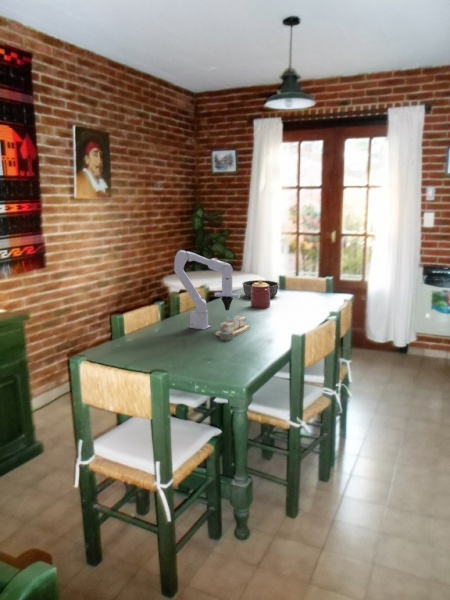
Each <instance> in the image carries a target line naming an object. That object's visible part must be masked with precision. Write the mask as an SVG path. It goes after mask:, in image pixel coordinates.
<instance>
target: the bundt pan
mask: <svg viewBox="0 0 450 600" xmlns="http://www.w3.org/2000/svg"><path fill="white" fill-rule="evenodd" d="M259 280H260V279H258V280H257V279H256V280H248V281H247V280H246V281H243V282H242V288H243V292H244V293H243V294H244V295H245V296H246V297H249V298H250V299H251V288H252V285H253V284H254V283H257V282H258V281H259ZM261 280H262V279H261ZM262 282H263V283H267V284H268V285H269V286H268V287H269V288H270V299H271V298H273V297H275V296H276V295H277V294H278V291H279V286H280V283H279V282H276V281H273V280H264V279H263V280H262Z"/></svg>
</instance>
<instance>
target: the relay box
mask: <svg viewBox="0 0 450 600" xmlns="http://www.w3.org/2000/svg"><path fill="white" fill-rule="evenodd" d="M233 338H234V337H233V333H231V332H226V331H224V332H221V333H220V336H219V340H221V341H226V342H229V341H231V340H233Z"/></svg>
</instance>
